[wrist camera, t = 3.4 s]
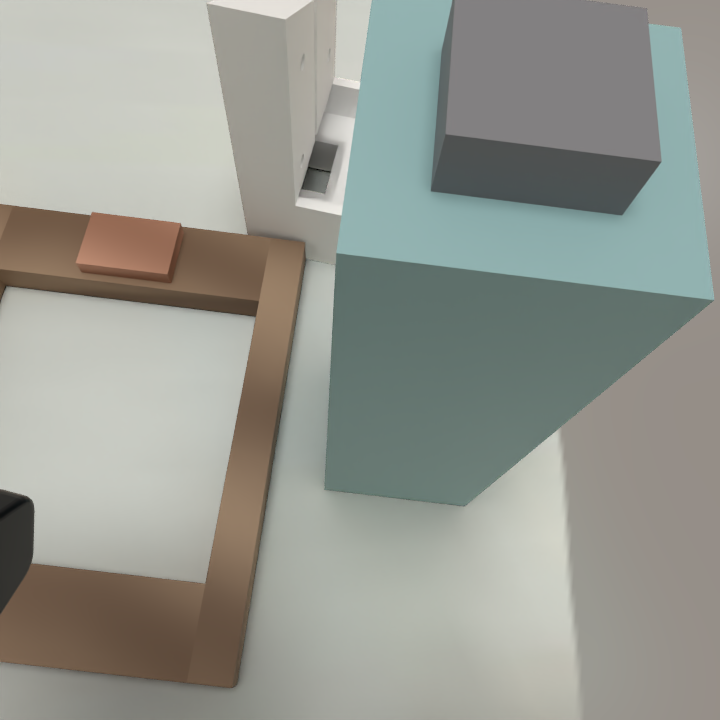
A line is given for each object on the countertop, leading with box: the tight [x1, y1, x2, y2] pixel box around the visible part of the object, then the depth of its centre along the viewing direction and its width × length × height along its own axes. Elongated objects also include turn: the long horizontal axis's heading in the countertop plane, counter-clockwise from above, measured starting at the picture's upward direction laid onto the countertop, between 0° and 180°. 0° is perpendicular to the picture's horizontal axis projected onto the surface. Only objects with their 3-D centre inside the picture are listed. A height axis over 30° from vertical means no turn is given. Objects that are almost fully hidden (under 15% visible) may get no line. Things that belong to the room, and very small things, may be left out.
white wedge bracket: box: [206, 0, 360, 265], centre depth 21 cm, size 4×10×9 cm, turn 168°
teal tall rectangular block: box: [324, 0, 714, 506], centre depth 14 cm, size 4×4×15 cm
